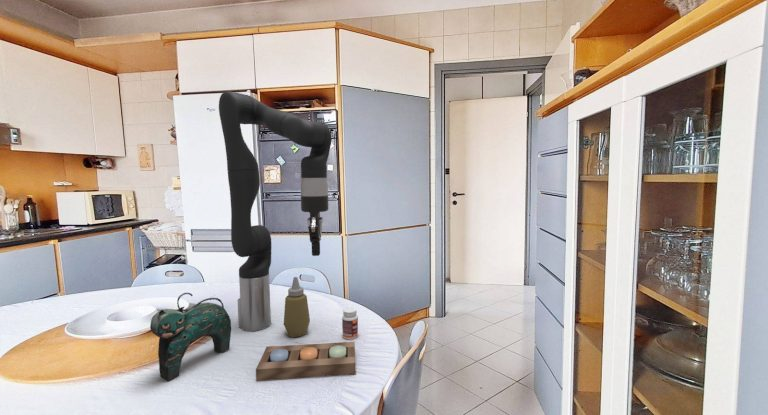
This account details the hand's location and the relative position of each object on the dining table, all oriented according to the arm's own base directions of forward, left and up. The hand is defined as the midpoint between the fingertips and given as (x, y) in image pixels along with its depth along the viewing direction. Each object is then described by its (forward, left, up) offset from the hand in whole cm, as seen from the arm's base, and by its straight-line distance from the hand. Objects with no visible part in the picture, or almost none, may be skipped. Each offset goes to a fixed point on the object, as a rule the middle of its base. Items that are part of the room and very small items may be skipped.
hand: (316, 255), depth 97 cm
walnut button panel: (+2, -10, -27) cm, 29 cm away
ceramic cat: (-28, -16, -27) cm, 42 cm away
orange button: (+2, -10, -26) cm, 28 cm away
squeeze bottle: (-10, +6, -27) cm, 30 cm away
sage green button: (+9, -7, -26) cm, 29 cm away
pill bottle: (+7, +8, -27) cm, 29 cm away
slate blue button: (-5, -13, -26) cm, 29 cm away
